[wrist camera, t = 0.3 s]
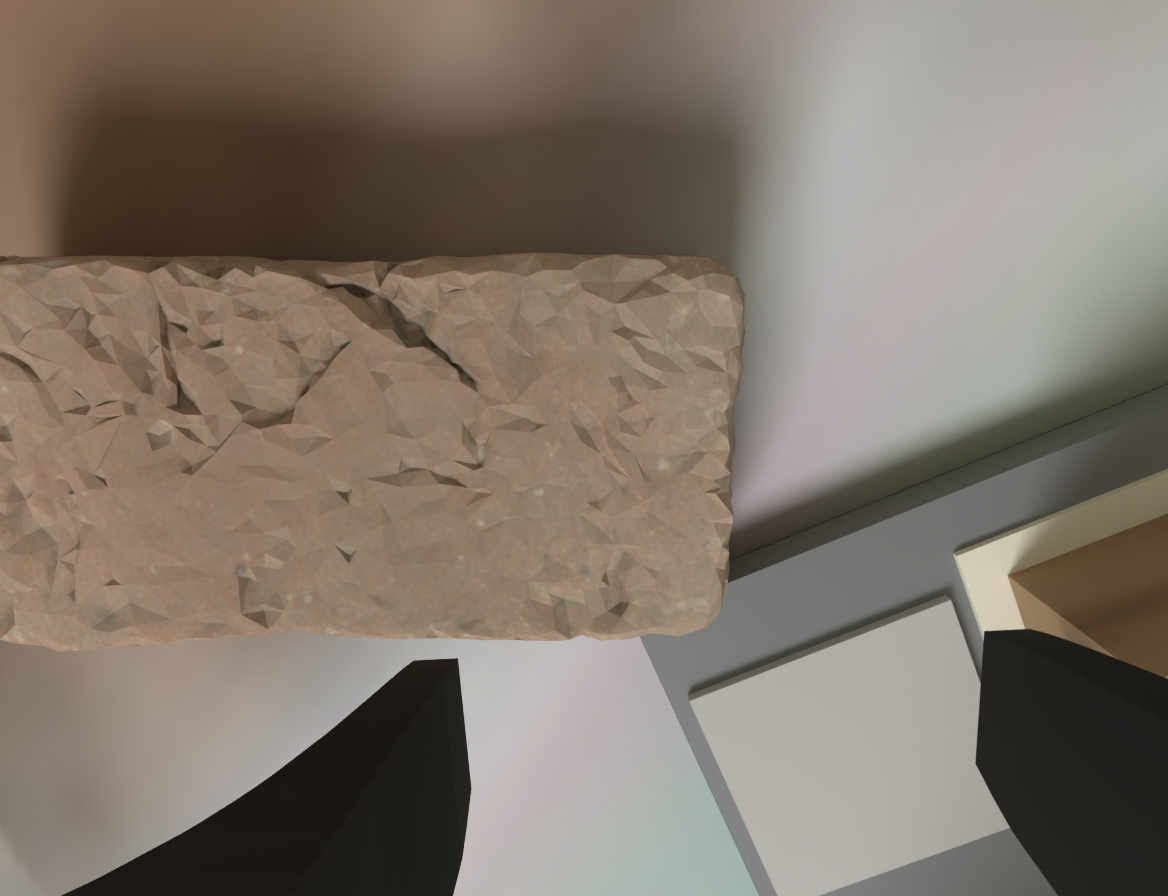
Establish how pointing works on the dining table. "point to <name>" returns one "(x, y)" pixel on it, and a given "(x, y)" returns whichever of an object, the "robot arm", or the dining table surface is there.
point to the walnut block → (1105, 596)
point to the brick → (364, 447)
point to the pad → (855, 751)
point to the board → (926, 595)
